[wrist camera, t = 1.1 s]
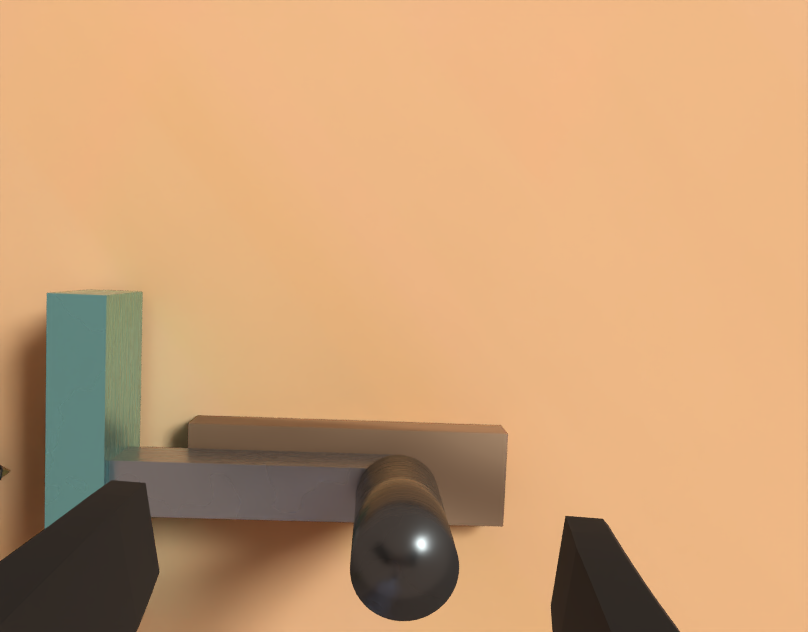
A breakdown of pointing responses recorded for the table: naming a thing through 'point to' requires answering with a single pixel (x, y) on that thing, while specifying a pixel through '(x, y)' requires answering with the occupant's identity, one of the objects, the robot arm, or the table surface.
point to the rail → (385, 452)
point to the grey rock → (3, 471)
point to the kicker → (231, 464)
